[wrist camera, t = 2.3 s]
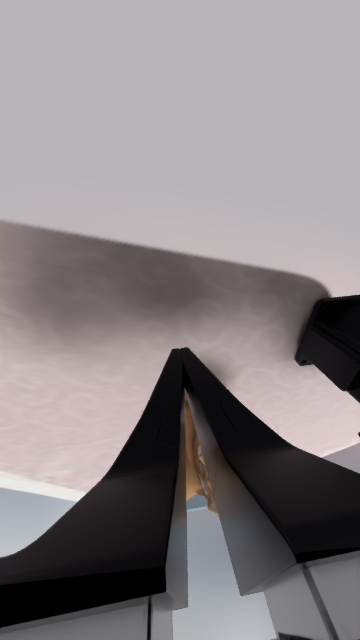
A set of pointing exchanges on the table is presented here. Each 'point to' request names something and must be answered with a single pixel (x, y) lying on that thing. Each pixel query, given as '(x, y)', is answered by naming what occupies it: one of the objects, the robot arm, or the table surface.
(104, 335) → the table surface
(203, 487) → the lion figurine
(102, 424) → the table surface
